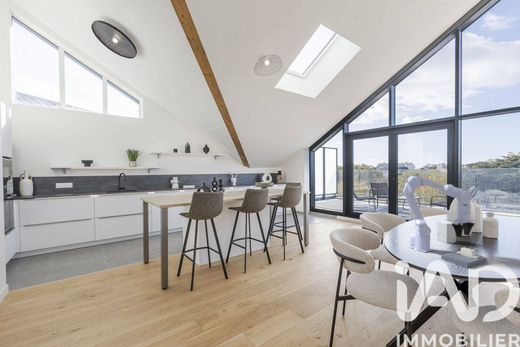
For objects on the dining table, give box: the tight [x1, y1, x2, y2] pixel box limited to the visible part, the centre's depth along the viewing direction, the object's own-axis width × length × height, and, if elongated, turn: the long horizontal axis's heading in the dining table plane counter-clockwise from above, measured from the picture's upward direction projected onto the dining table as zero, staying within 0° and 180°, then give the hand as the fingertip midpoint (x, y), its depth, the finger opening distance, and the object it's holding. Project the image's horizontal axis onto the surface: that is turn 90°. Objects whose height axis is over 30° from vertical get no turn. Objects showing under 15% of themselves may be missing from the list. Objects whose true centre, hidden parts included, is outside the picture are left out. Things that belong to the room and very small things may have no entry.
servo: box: [455, 246, 480, 259], centre depth 132 cm, size 9×3×6 cm, turn 24°
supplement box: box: [436, 220, 457, 244], centre depth 164 cm, size 7×7×13 cm
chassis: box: [441, 249, 488, 269], centre depth 131 cm, size 12×17×2 cm
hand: (462, 235), depth 140 cm, fingers open, 7 cm apart
